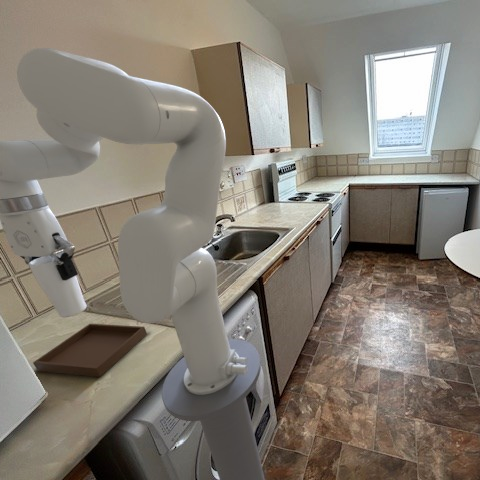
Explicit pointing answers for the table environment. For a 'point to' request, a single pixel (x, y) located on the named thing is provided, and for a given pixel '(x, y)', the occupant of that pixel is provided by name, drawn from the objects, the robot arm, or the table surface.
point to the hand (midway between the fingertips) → (57, 276)
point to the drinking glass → (58, 287)
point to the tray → (91, 350)
